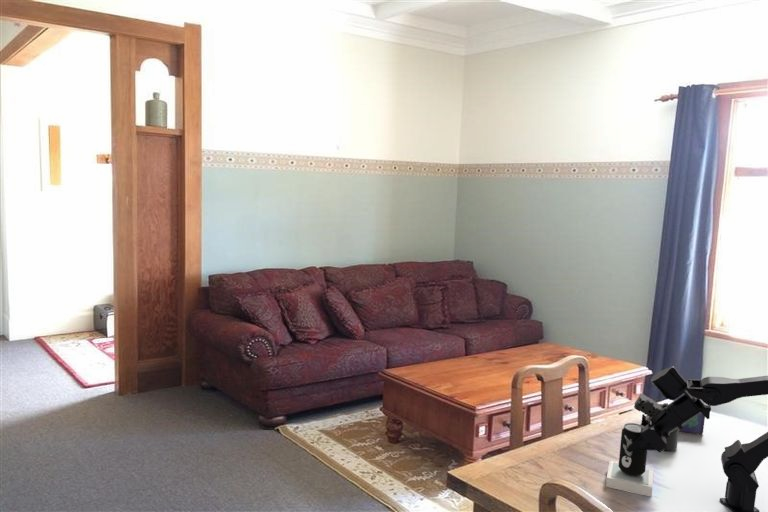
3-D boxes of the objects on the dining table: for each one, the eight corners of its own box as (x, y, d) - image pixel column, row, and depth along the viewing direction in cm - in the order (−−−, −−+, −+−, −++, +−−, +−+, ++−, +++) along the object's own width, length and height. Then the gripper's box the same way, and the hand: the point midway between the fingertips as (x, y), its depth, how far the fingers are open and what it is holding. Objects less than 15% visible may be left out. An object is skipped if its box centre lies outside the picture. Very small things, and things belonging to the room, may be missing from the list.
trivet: (652, 478, 171) (653, 469, 171) (651, 496, 161) (652, 487, 160) (609, 469, 175) (609, 460, 175) (605, 486, 165) (606, 476, 165)
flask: (672, 431, 204) (676, 399, 203) (670, 428, 207) (674, 396, 205) (703, 436, 202) (707, 403, 200) (701, 432, 205) (705, 400, 203)
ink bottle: (650, 437, 199) (654, 400, 197) (680, 445, 193) (685, 407, 192) (640, 446, 191) (644, 408, 190) (671, 455, 186) (675, 416, 184)
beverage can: (647, 478, 164) (651, 433, 162) (620, 474, 165) (624, 430, 163) (642, 467, 170) (646, 424, 168) (616, 463, 171) (620, 421, 170)
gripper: (656, 377, 171) (609, 409, 177) (655, 398, 154) (604, 433, 160) (685, 410, 169) (637, 442, 175) (688, 435, 152) (634, 469, 158)
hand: (628, 445), depth 167 cm, fingers closed on beverage can, 6 cm apart
